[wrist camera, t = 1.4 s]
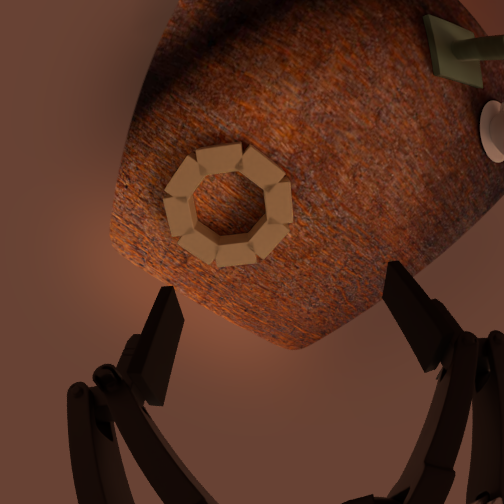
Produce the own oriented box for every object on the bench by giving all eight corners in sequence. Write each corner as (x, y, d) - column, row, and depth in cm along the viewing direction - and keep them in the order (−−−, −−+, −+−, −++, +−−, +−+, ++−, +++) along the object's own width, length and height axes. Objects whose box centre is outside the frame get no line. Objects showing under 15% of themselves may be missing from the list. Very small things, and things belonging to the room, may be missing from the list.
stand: (422, 16, 18) (477, -3, 8) (467, 33, 18) (520, 27, 8) (433, 75, 22) (495, 72, 12) (476, 88, 22) (534, 94, 12)
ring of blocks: (161, 154, 28) (153, 158, 26) (283, 136, 27) (286, 138, 25) (185, 260, 34) (180, 271, 32) (292, 248, 34) (295, 258, 31)
